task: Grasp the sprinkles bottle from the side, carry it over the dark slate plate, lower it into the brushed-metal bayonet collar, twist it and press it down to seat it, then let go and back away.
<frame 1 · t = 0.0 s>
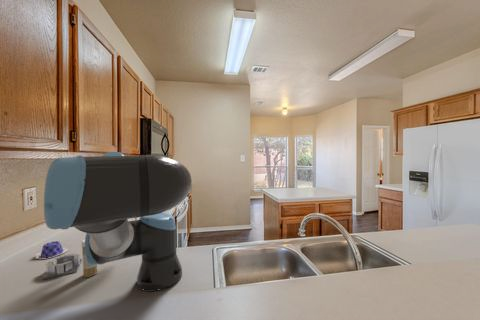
hand: (118, 222, 95), 15 cm above the countertop, tool tilted 35°, fingers open, 13 cm apart
sprinkles bottle: (90, 274, 80), on the countertop
collar: (64, 269, 84), on the countertop
checkered hat: (52, 254, 100), on the countertop
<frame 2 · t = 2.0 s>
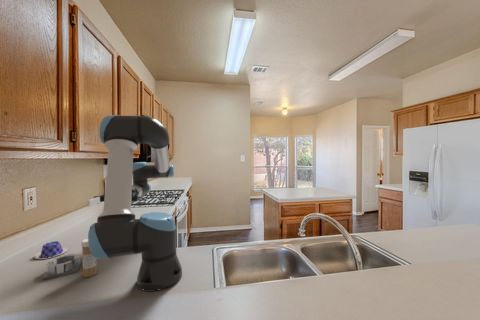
hand: (104, 203, 89), 25 cm above the countertop, tool horizontal, fingers open, 13 cm apart
nothing on the countertop moved.
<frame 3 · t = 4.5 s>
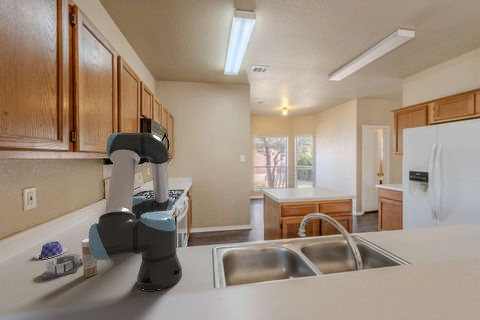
hand: (100, 249, 86), 7 cm above the countertop, tool horizontal, fingers open, 13 cm apart
nothing on the countertop moved.
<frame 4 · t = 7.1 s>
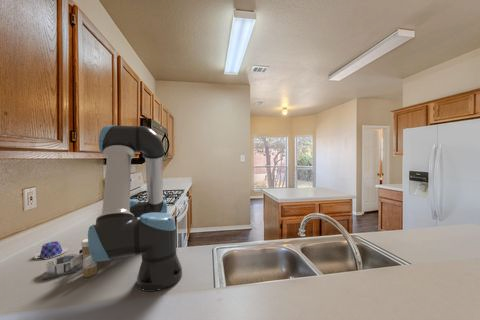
hand: (78, 263, 75), 7 cm above the countertop, tool horizontal, fingers closed on sprinkles bottle, 4 cm apart
sprinkles bottle: (90, 274, 80), on the countertop, touching gripper
everything else where it was.
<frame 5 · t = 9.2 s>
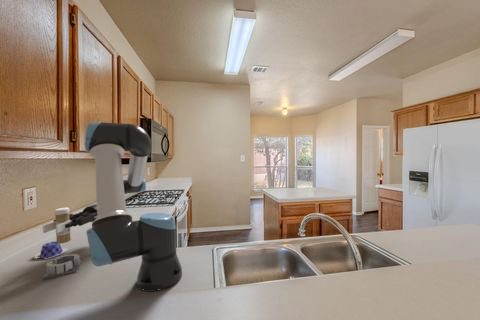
hand: (50, 229, 79), 18 cm above the countertop, tool horizontal, fingers closed on sprinkles bottle, 4 cm apart
sprinkles bottle: (63, 242, 84), point 11 cm above the countertop, touching gripper
everything else where it was.
when the fingers open (9 cm above the countertop, at t = 11.4 s): sprinkles bottle stays where it is, resting on collar.
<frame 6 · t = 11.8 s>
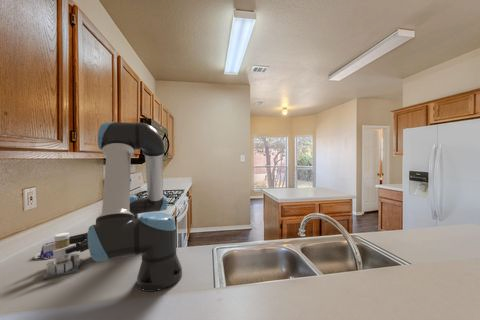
hand: (48, 251, 80), 9 cm above the countertop, tool horizontal, fingers open, 9 cm apart
sprinkles bottle: (63, 267, 84), point 1 cm above the countertop, touching collar
everything else where it was.
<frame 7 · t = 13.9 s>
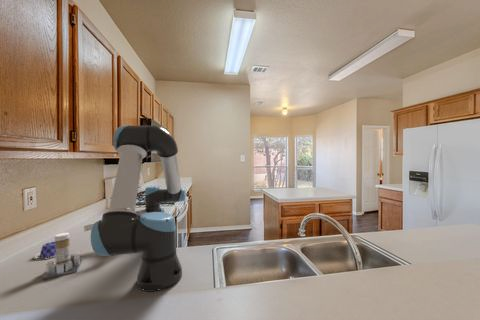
hand: (91, 230, 93), 12 cm above the countertop, tool horizontal, fingers open, 13 cm apart
nothing on the countertop moved.
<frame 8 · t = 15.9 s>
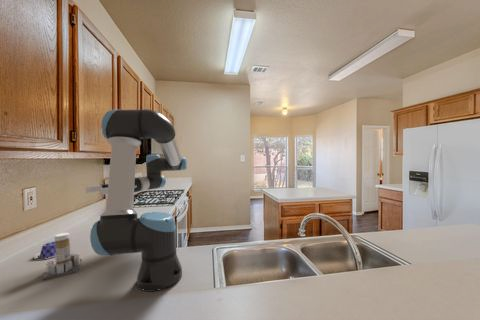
hand: (93, 190, 93), 30 cm above the countertop, tool horizontal, fingers open, 13 cm apart
nothing on the countertop moved.
at the end: sprinkles bottle 0.1 cm off-centre on the collar, point 0.8 cm above the collar's base; sprinkles bottle tilted 0°; the gripper is holding nothing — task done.
